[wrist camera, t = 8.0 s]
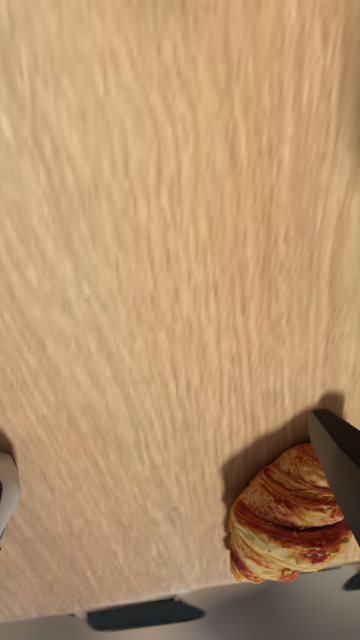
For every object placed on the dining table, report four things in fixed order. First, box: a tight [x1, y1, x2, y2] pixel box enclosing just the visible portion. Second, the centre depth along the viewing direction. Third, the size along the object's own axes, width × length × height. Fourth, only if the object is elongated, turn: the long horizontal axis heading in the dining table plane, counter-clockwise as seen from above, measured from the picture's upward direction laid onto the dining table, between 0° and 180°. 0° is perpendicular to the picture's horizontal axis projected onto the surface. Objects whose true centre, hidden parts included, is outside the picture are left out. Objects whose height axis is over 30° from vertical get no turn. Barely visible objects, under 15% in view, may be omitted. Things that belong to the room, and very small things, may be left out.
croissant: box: [228, 443, 353, 584], centre depth 30 cm, size 21×10×8 cm, turn 162°
